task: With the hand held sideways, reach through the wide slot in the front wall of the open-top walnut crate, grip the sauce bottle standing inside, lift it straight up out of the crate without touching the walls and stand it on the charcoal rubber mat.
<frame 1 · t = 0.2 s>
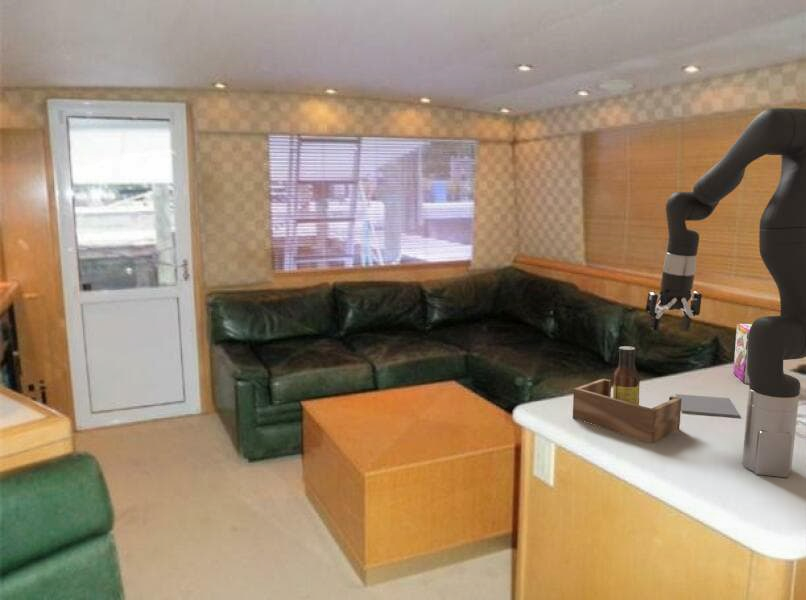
hand: (669, 330, 168), 22 cm above the counter, tool pointing down, fingers open, 8 cm apart
walnut crate: (624, 423, 164), on the counter
sauce bottle: (624, 424, 164), resting in walnut crate
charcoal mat: (705, 406, 176), on the counter
candy bar box: (745, 379, 200), on the counter
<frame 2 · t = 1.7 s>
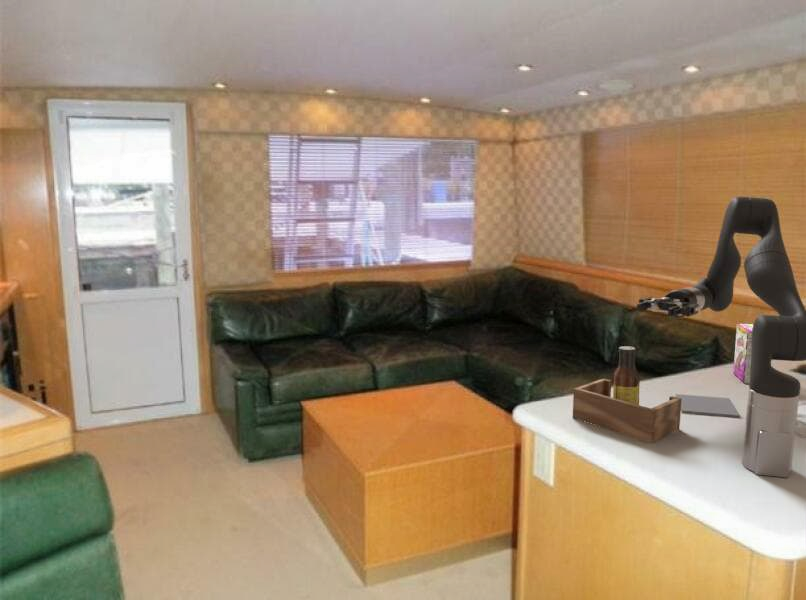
hand: (653, 310, 166), 28 cm above the counter, tool horizontal, fingers open, 8 cm apart
nothing on the counter moved.
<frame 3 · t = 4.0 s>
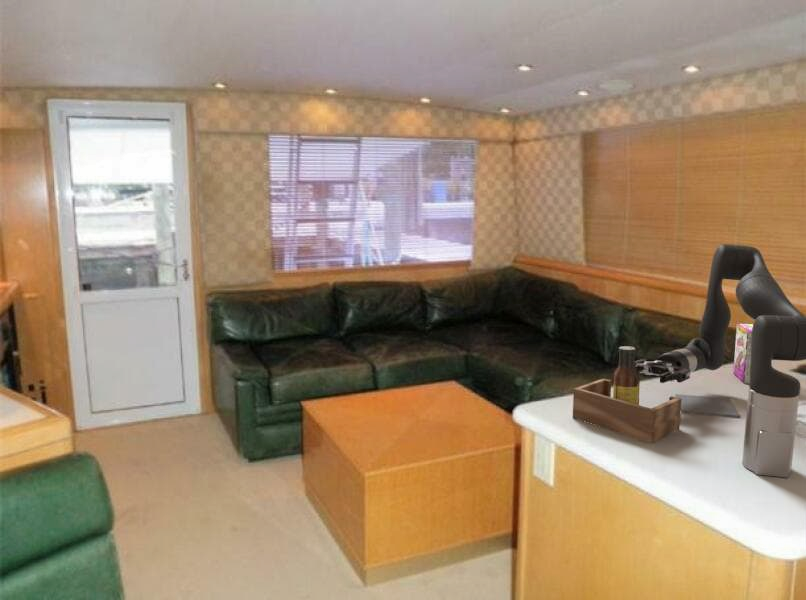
hand: (645, 375, 167), 11 cm above the counter, tool horizontal, fingers open, 8 cm apart
nothing on the counter moved.
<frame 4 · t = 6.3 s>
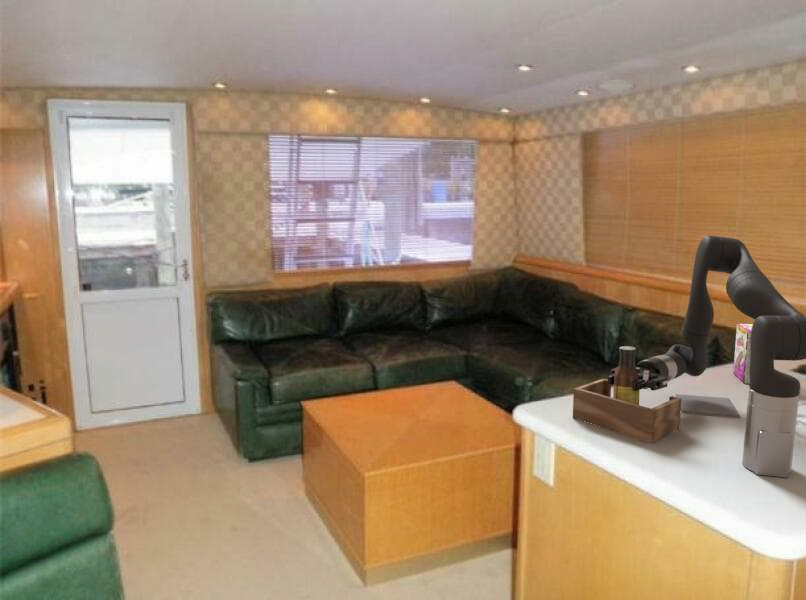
hand: (621, 383, 160), 11 cm above the counter, tool horizontal, fingers closed on sauce bottle, 6 cm apart
sauce bottle: (624, 424, 164), resting in walnut crate, touching gripper
everything else where it was.
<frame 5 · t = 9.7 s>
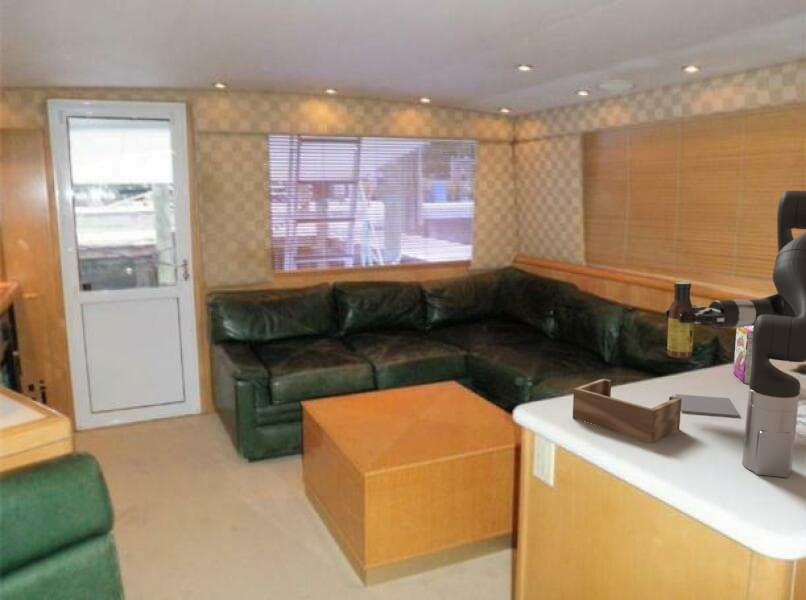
hand: (673, 316, 170), 26 cm above the counter, tool horizontal, fingers closed on sauce bottle, 6 cm apart
sauce bottle: (678, 356, 172), point 14 cm above the counter, touching gripper
everything else where it was.
when the fingers open (13 cm above the counter, at t = 13.4 s): sauce bottle drops 1 cm, resting on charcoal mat.
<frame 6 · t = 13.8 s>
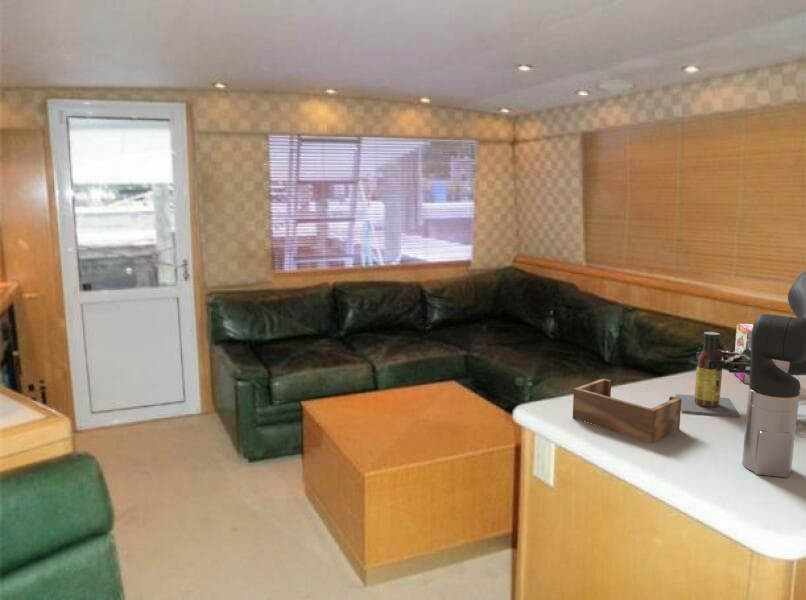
hand: (702, 360, 173), 13 cm above the counter, tool horizontal, fingers open, 8 cm apart
sauce bottle: (706, 404, 176), resting on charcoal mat
everything else where it was.
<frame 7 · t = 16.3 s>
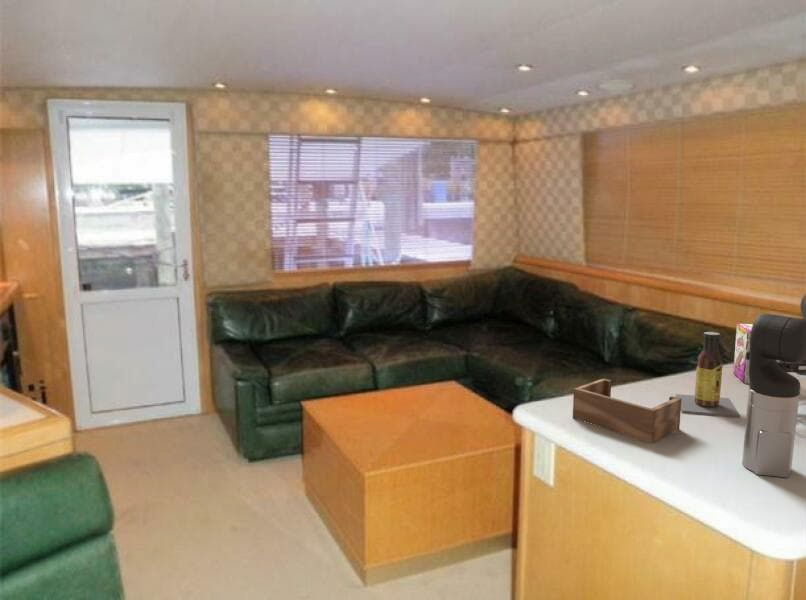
hand: (752, 359, 172), 13 cm above the counter, tool horizontal, fingers open, 8 cm apart
nothing on the counter moved.
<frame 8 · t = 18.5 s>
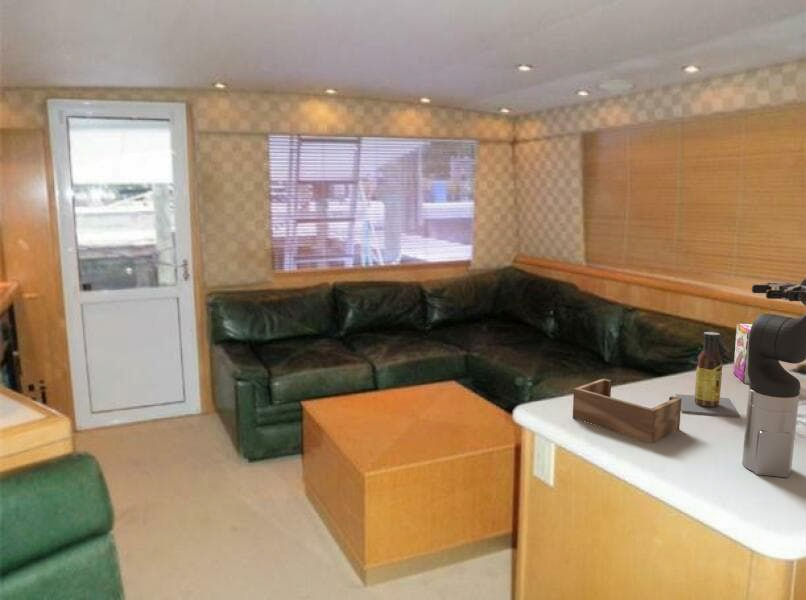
hand: (759, 291, 169), 32 cm above the counter, tool horizontal, fingers open, 8 cm apart
nothing on the counter moved.
at the end: sauce bottle inside the target area on the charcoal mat (0.1 cm from its centre), point 0.4 cm above the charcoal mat's base; sauce bottle tilted 0°; the gripper is holding nothing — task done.
